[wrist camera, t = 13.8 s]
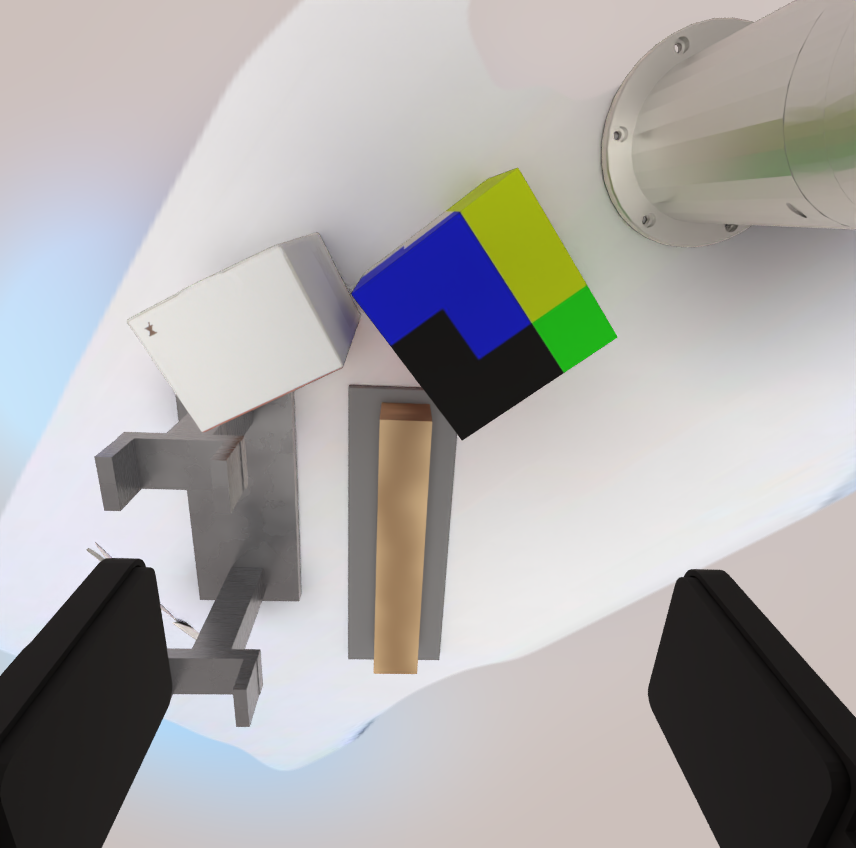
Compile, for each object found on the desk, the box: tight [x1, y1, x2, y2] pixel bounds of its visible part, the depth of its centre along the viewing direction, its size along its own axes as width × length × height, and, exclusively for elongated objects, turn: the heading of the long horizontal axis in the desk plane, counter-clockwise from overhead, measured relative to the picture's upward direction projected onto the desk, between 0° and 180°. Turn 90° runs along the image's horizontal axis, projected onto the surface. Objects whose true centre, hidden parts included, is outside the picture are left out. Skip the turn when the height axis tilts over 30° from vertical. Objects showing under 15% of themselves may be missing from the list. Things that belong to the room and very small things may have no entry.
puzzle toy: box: [351, 168, 617, 440], centre depth 33 cm, size 10×10×10 cm
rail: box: [374, 402, 432, 674], centre depth 42 cm, size 4×22×4 cm, turn 177°
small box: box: [127, 232, 360, 432], centre depth 31 cm, size 8×6×13 cm
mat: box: [348, 385, 457, 660], centre depth 44 cm, size 8×25×1 cm, turn 177°
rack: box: [95, 391, 301, 727], centre depth 36 cm, size 8×19×13 cm, turn 177°
